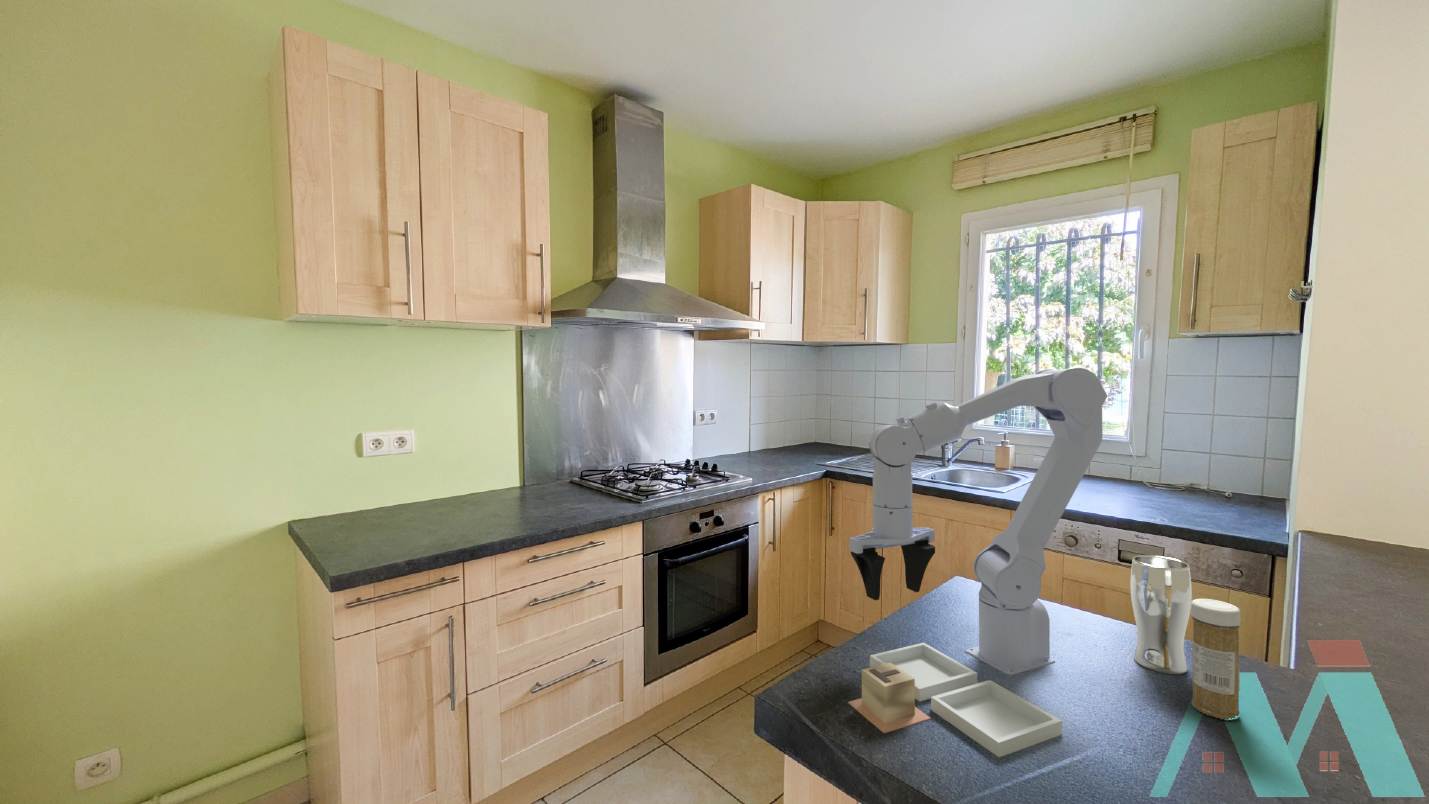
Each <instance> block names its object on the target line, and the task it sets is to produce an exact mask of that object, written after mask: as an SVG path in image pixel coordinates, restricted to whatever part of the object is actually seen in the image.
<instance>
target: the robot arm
mask: <svg viewBox="0 0 1429 804" xmlns="http://www.w3.org/2000/svg"><path fill="white" fill-rule="evenodd" d="M1107 398H1108V395H1107V392H1106V391H1105V389H1104V387H1103V385H1102V384H1101V381H1100V380H1099V378H1098V377H1097V375H1096V374H1095V373H1093V372H1092V371H1090V370H1089V369H1087V368H1083V367H1070V368H1065V369H1064V368H1063V369H1051V368H1050V369H1049V368H1048V369H1043V370H1039V371H1037V372H1035V373H1034V374H1033V373H1032V374H1026V375H1022V376H1019V377H1017V378H1014V379H1011V380H1009V381H1007V382H1004V383H1003V384H1001V385H999V386H997V387H994V388H992V389H989V390H988V391H986V392H984V393H982V394H979V395H977V396H975V397H972V398H971V399H969V400H966V401H964V402H961V403H960V404H957V405H955V406H954V405H951V404H950V403H947V402H940V403H938V404H937V402H934V401H932V402H930V403H928V404H926V405H925V408H926V409H924V410H922V411H919V412H916V413H914V414H911V415H910V416H907V417H904V416H902V415H901V416H899V417H896V419H895V421H896V424H895V425H893V424H884V425H882V426H880V427H878V428H876V429H875V430H874V433H873V432H872V435H871V437H870V441H869V442H868V447H869V450H870V453H871V454H872V455H873V463H872V466H873V467H872V468H873V473H872V520H873V521H872V528H871V531H868V532H866V533H863V534H859V535H856V536H852V537H851V536H850V537H849V541H848V543H849V545H848V546H849V547H848V549H849V551H850V555H851V557H852V558H853V560H854V562H855V564H856V565H857V567H858V570H859V573H860V575H861V579H862V582H863V585H864V589H865V590H864V591H865V593H866V597H867V598H870V599H871V600H874V601H879V600H880V597H881V596H880V595H881V577H882V571H883V566H884V564H885V561H886V558H885V557H884V556H882V555H880V554H879V552H878V551H876V550H881V549H888V548H893V547H894V548H896V547H900V549H901V550H902V551H901V552H902V555H903V561H904V571H905V572H904V575H905V584H906V589H908V590H909V591H912V592H914V593H920V590H921V586H922V583H923V579H924V575H925V572H926V570H927V568H928V565H929V563H930V561H931V559H932V558H933V557H934V555H935V553H936V546H935V545H933V544H930V543H935V542H936V541H935V529H933V528H930V527H926V526H924V527H913V526H914V521H913V519H914V518H913V517H914V516H913V513H914V511H913V475H912V461H913V460H914V459H915V457H916V455H917V454H919V455H920V454H923V453H926V452H928V451H931V450H933V449H936V448H938V447H941V446H943V445H945V444H947V443H950V442H953V441H955V440H957V439H960V438H961V437H962V435H963V434H964V431H965V428H966V427H967V426H969V425H971V424H974V423H977V422H979V421H982V420H986V419H988V418H990V417H993V416H995V415H998V414H1001V413H1004V412H1007V411H1009V410H1012V409H1014V408H1017V407H1022V406H1023V407H1034V409H1035V410H1036V411H1038V413H1039V414H1041V416H1043V418H1044V419H1045V420H1046V421H1047V423H1048V426H1049V427H1050V430H1051V431H1052V434H1053V435H1054V439H1053V441H1052V443H1051V445H1050V447H1049V449H1048V450H1047V452H1046V454H1045V456H1044V458H1043V460H1042V461H1041V463H1040V465H1039V467H1038V468H1037V471H1036V473H1035V475H1034V477H1033V478H1032V480H1031V482H1030V484H1029V486H1028V488H1027V490H1025V491H1026V492H1025V493H1024V495H1023V497H1022V498H1021V501H1020V503H1019V505H1018V506H1017V509H1016V510H1015V512H1014V514H1013V516H1012V517H1011V520H1010V521H1009V523H1008V525H1007V527H1006V529H1005V530H1004V531H1002V532H1000V533H999V534H997V535H995V536H994V537H993V538H992V539H991V540H992V541H991V542H990V544H989V545H988V546H987V547H985V548H984V549H983V550H981V551H980V552H978V554H977V555H976V556H975V558H974V561H973V572H974V575H975V576H976V578H977V580H978V582H980V584H981V587H980V589H979V592H978V646H974V647H969V648H966V649H965V653H966V654H968V655H970V656H972V657H974V658H976V659H977V660H980V661H982V662H983V663H986V664H987V665H988V666H991V667H993V668H994V669H997V670H999V671H1000V672H1002V673H1004V674H1005V675H1008V676H1013V675H1016V674H1021V673H1023V672H1027V671H1030V670H1034V669H1037V668H1041V667H1043V666H1044V667H1045V666H1048V665H1052V664H1054V663H1056V659H1054V658H1052V657H1050V655H1051V654H1050V653H1051V651H1050V648H1051V647H1050V644H1051V642H1050V637H1051V635H1050V632H1051V631H1050V615H1049V612H1048V609H1046V608H1047V607H1045V605H1044V604H1043V603H1042V602H1041V600H1039V597H1040V595H1041V592H1042V577H1043V575H1044V573H1045V571H1046V568H1047V564H1046V559H1045V552H1044V549H1045V547H1046V545H1047V543H1048V542H1049V540H1050V538H1051V536H1052V534H1053V533H1054V530H1055V529H1056V527H1057V525H1058V523H1059V522H1060V519H1061V518H1062V516H1063V514H1064V512H1065V510H1066V508H1067V507H1068V505H1069V503H1070V501H1071V500H1072V498H1073V495H1074V494H1075V492H1076V489H1077V488H1078V486H1079V484H1080V482H1081V481H1082V478H1084V475H1085V473H1086V471H1087V470H1088V467H1089V466H1090V464H1091V462H1092V460H1093V459H1094V457H1095V456H1096V453H1097V451H1098V450H1099V447H1100V446H1101V444H1102V440H1103V406H1104V403H1105V401H1106V400H1107Z"/></svg>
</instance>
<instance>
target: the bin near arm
mask: <svg viewBox="0 0 1429 804" xmlns="http://www.w3.org/2000/svg"><path fill="white" fill-rule="evenodd" d="M886 663H892V664H893V665H895V666H896V667H898V668H899V669H901V670H902V671H904V672H905V673H907V674H908V675H910V676H911V677H913V678H914V679H915V701H918V702H923V701H927V700H931V697H932V696H936V695H939V694H943V693H946V692H949V691H953V690H956V689H960V688H963V687H967V686H970V685H974V684H977V683H979V681H978V677H979V676H978V671H975V670H974V669H971V667H970V668H969V667H968V666H966V665H964V664H962V663H961V662H959V661H958V660H956V659H954V658H952V657H950V656H948V655H946V654H945V653H943V652H941V651H939V650H937V649H936V648H934V647H932V646H931V645H929V644H927V643H925V642H920V643H916V644H913V645H908V646H904V647H900V648H895V649H892V650H887V651H882V652H878V653H875V654H870V655H869V667H874V666H878V665H882V664H886Z"/></svg>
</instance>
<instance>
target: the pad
mask: <svg viewBox="0 0 1429 804" xmlns="http://www.w3.org/2000/svg"><path fill="white" fill-rule="evenodd" d="M847 704H849V705H850V706H851V707H852V708H853V709H855V710H856V711H857V712H858V713H859V714H860V715H862V716H863V717H864V718H865V719H866V720H867V721H868V722H870V723H871V724H872V725H874V727H876V728H877V729H878V730H879V731H881V732H882V733H883V734H887V733H890V732H893V731H897V730H900V729H902V728H907V727H909V726H913V725H917V724H920V723H923V722H927V721H929V720H931V718H932V717H930V715H927V714H926V713H924V712H923V711H922V710H921V709H919V708H917V707H916V706H915V715H913V716H909V717H906V718H903V719H899V720H896V721H892V722H889V723H886V724H885V723H884V722H883V721H881V720H880V719H879V718H878V717H877V716H875V715H874V714H873V713H872V712H870V711H869V710H868V709H867V708H866V707H864V706H863V705H862V697H861V698H858V699H857V698H856V699H854V700H850V701H848V702H847Z"/></svg>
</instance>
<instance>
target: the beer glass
mask: <svg viewBox="0 0 1429 804" xmlns="http://www.w3.org/2000/svg"><path fill="white" fill-rule="evenodd" d="M1131 559H1132V561H1131V562H1132V563H1131V568H1130V569H1131V571H1130V583H1129V585H1130V599H1131V605H1132V606H1131V607H1132V610H1133V616H1134V620H1135V625H1136V631H1137V635H1136V636H1137V640H1136V648H1135V649H1134V653H1133V659H1134V661H1135V662H1136V663H1137V664H1138V665H1140V666H1141V667H1144V668H1146V669H1148V670H1151V671H1154V672H1156V673H1157V672H1158V673H1162V674H1167V675H1168V674H1169V675H1181V674H1185V673H1187V672H1188V665H1187V661H1186V656H1185V650H1184V649H1185V648H1184V643H1185V636H1186V631H1187V627H1188V624H1189V619H1190V616H1191V602H1192V601H1193V597H1192V596H1193V593H1192V578H1191V569H1190V567H1191V565H1190V564H1189V563H1188V562H1185V561H1182V560H1181V559H1176V558H1173V557H1167V556H1161V555H1152V554H1140V555H1134V556H1132V558H1131Z"/></svg>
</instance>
